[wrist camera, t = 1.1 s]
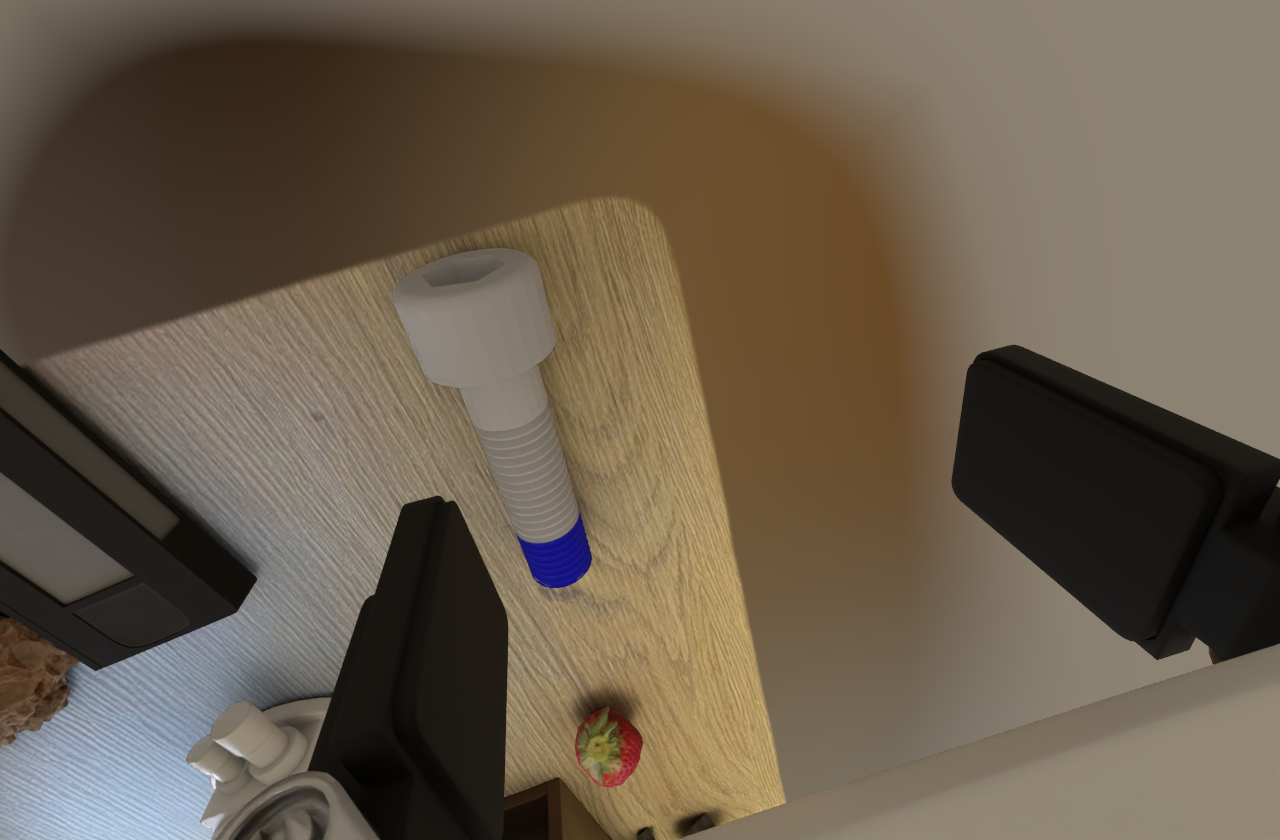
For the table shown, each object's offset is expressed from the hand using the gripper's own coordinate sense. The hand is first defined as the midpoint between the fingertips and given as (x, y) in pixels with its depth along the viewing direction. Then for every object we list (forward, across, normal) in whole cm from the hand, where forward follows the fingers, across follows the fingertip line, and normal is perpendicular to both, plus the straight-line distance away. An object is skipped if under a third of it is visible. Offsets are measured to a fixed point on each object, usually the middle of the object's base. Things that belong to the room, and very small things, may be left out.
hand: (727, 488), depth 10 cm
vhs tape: (+15, +24, +4) cm, 29 cm away
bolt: (+15, +5, +5) cm, 17 cm away
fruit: (+15, +6, +29) cm, 33 cm away
